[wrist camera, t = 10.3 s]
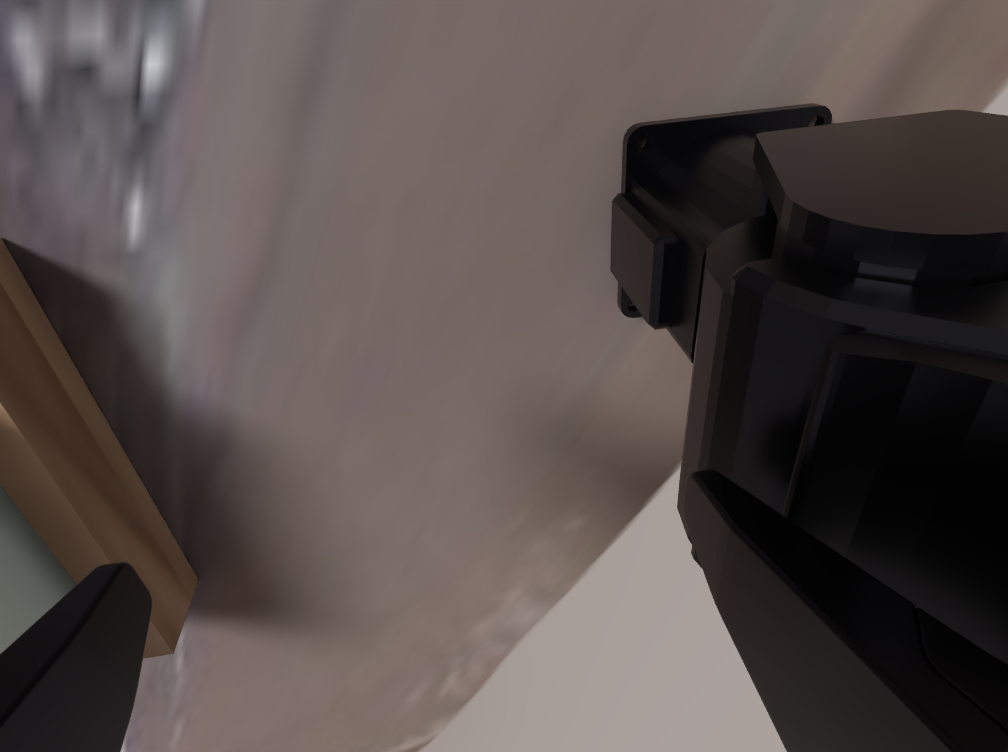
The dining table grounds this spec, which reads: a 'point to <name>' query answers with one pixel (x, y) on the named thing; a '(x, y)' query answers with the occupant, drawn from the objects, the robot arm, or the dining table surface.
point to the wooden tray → (78, 466)
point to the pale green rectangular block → (25, 574)
